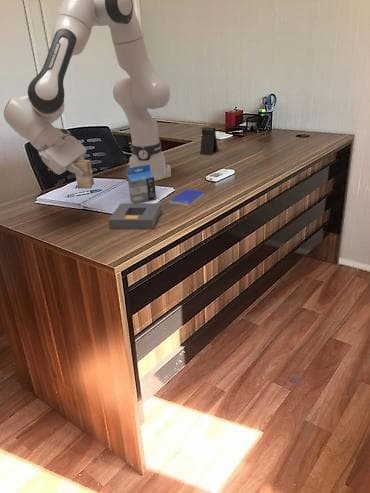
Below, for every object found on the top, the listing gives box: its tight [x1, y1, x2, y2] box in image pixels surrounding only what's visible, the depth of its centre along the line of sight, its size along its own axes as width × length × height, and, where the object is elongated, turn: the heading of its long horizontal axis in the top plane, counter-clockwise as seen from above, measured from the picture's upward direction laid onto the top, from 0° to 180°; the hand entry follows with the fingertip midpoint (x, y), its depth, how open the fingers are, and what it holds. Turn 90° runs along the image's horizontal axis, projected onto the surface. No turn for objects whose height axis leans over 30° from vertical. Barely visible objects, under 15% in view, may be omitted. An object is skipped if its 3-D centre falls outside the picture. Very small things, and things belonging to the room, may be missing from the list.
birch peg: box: [74, 159, 95, 189], centre depth 137 cm, size 4×4×8 cm
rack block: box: [107, 202, 162, 230], centre depth 140 cm, size 14×14×3 cm
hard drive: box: [168, 189, 206, 207], centre depth 155 cm, size 2×8×12 cm
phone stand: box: [199, 126, 219, 156], centre depth 208 cm, size 9×6×12 cm, turn 154°
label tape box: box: [126, 164, 157, 203], centre depth 154 cm, size 9×4×12 cm, turn 114°
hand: (85, 172), depth 137 cm, fingers closed on birch peg, 4 cm apart
